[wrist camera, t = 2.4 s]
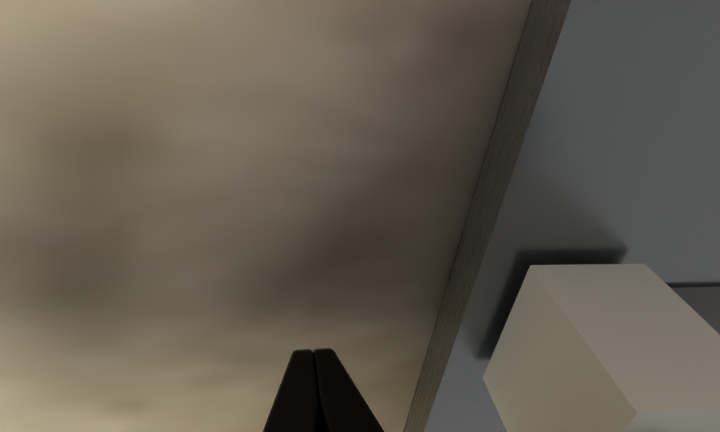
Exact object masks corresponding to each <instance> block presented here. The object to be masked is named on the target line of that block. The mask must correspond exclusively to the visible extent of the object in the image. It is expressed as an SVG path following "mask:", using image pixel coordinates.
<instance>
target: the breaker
mask: <svg viewBox="0 0 720 432" xmlns="http://www.w3.org/2000/svg"><path fill="white" fill-rule="evenodd" d="M483 380H484V382H485V384H486V386H487V389H488V391H489V393H490V395H491V398H492V400H493V402H494V404H495V407H496V409H497V411H498V413H499V415H500V418H501V420H502V422H503V424H504V427H505V429H506V431H507V432H720V334H719V333H718V332H717V331H716V330H714V329H713V328H712V327H711V326H710V325H709V324H708V323H707V322H706V321H705V320H704V319H703V318H702V317H701V316H700V315H699V314H698V313H697V312H695V311H694V310H693V309H692V308H691V307H690V306H689V305H688V304H687V303H686V302H685V301H684V300H683V299H682V298H681V297H680V296H679V295H677V294H676V293H675V292H674V291H673V290H672V289H671V288H670V287H669V286H668V285H667V284H666V283H665V282H664V281H663V280H662V279H661V278H660V277H658V276H657V275H656V274H655V273H654V272H653V271H652V270H651V269H650V268H649V267H648V266H647V265H646V264H580V265H530V267H529V269H528V272H527V274H526V276H525V279H524V281H523V283H522V286H521V288H520V291H519V293H518V295H517V298H516V300H515V302H514V305H513V307H512V310H511V312H510V314H509V317H508V319H507V321H506V324H505V326H504V329H503V331H502V333H501V336H500V338H499V340H498V343H497V345H496V348H495V350H494V352H493V355H492V357H491V359H490V362H489V364H488V367H487V369H486V371H485V374H484V376H483Z"/></svg>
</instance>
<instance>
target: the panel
mask: <svg viewBox="0 0 720 432" xmlns="http://www.w3.org/2000/svg"><path fill="white" fill-rule="evenodd" d="M580 264H646V265H647V266H648V267H649V268H650V269H651V270H652V271H653V272H654V273H655V274H656V275H657V276H658V277H660V278H661V279H662V280H663V281H664V282H665V283H666V284H667V285H668V286H669V287H670V288H671V289H672V290H673V291H674V292H675V293H676V294H677V295H679V296H680V297H681V298H682V299H683V300H684V301H685V302H686V303H687V304H688V305H689V306H690V307H691V308H692V309H693V310H694V311H695V312H697V313H698V314H699V315H700V316H701V317H702V318H703V319H704V320H705V321H706V322H707V323H708V324H709V325H710V326H711V327H712V328H713V329H714V330H716V331H717V332H718V333H719V334H720V0H533V1H532V5H531V8H530V11H529V15H528V18H527V21H526V25H525V28H524V31H523V35H522V38H521V41H520V45H519V48H518V51H517V55H516V58H515V61H514V65H513V68H512V71H511V75H510V78H509V81H508V85H507V88H506V91H505V95H504V98H503V102H502V105H501V108H500V112H499V115H498V118H497V122H496V125H495V128H494V132H493V135H492V138H491V142H490V145H489V148H488V152H487V155H486V158H485V162H484V165H483V168H482V172H481V175H480V178H479V182H478V185H477V189H476V192H475V195H474V199H473V202H472V205H471V209H470V212H469V215H468V219H467V222H466V225H465V229H464V232H463V235H462V239H461V242H460V245H459V249H458V252H457V255H456V259H455V262H454V265H453V269H452V272H451V275H450V279H449V282H448V286H447V289H446V292H445V296H444V299H443V302H442V306H441V309H440V312H439V316H438V319H437V322H436V326H435V329H434V332H433V336H432V339H431V342H430V346H429V349H428V352H427V356H426V359H425V362H424V366H423V369H422V373H421V376H420V379H419V383H418V386H417V389H416V393H415V396H414V399H413V403H412V406H411V409H410V413H409V416H408V419H407V423H406V426H405V429H404V432H507V431H506V429H505V427H504V424H503V422H502V420H501V418H500V415H499V413H498V411H497V409H496V407H495V404H494V402H493V400H492V398H491V395H490V393H489V391H488V389H487V386H486V384H485V382H484V380H483V376H484V374H485V371H486V369H487V367H488V364H489V362H490V359H491V357H492V355H493V352H494V350H495V348H496V345H497V343H498V340H499V338H500V336H501V333H502V331H503V329H504V326H505V324H506V321H507V319H508V317H509V314H510V312H511V310H512V307H513V305H514V302H515V300H516V298H517V295H518V293H519V291H520V288H521V286H522V283H523V281H524V279H525V276H526V274H527V272H528V269H529V267H530V265H580Z"/></svg>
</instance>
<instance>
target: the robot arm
mask: <svg viewBox="0 0 720 432" xmlns="http://www.w3.org/2000/svg"><path fill="white" fill-rule="evenodd" d="M263 432H384V431H383V429H382V427H381V426H380V424H379V423H378V421H377V419H376V418H375V416H374V414H373V413H372V411H371V410H370V408H369V406H368V405H367V403H366V402H365V400H364V398H363V397H362V395H361V394H360V392H359V390H358V389H357V387H356V386H355V384H354V382H353V381H352V379H351V378H350V376H349V374H348V373H347V371H346V369H345V368H344V366H343V365H342V363H341V361H340V360H339V358H338V357H337V355H336V353H335V352H334V351H333V350H332V349H330V348H325V349H315V350H314V351H312V350H310V349H305V350H295V351H294V352H293V353H292V355H291V358H290V361H289V363H288V366H287V369H286V371H285V374H284V377H283V379H282V382H281V384H280V387H279V390H278V392H277V395H276V398H275V400H274V403H273V406H272V408H271V411H270V414H269V416H268V419H267V422H266V424H265V427H264V430H263Z"/></svg>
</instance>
